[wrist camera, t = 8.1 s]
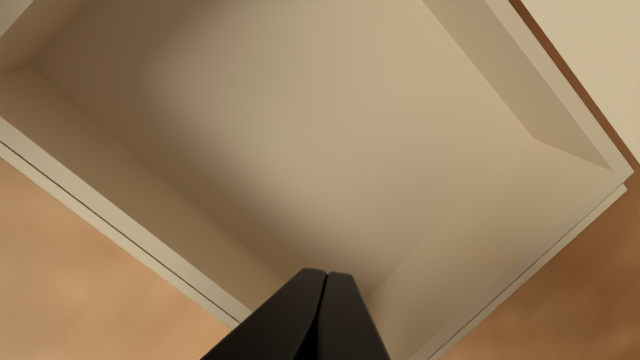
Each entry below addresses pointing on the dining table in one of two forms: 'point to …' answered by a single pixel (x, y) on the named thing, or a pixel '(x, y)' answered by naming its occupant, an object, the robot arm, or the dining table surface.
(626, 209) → the dining table surface
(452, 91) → the carton
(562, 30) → the flap
